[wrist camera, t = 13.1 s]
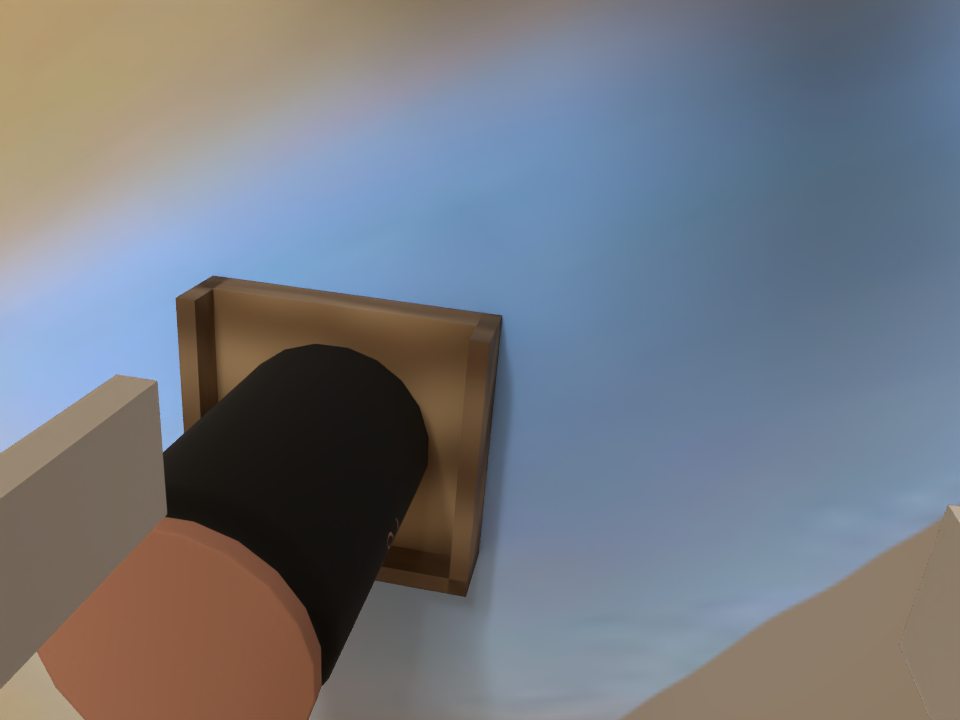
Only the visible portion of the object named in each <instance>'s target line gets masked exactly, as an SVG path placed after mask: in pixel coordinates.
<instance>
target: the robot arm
mask: <svg viewBox="0 0 960 720" xmlns="http://www.w3.org/2000/svg"><path fill="white" fill-rule="evenodd" d="M166 515H167V504H166V491H165V477H164V464H163V450H162V437H161V423H160V410H159V397H158V383H157V381H155V380H149V379H142V378H136V377H129V376H123V375H115V376H114V377H112V378H111V379H109V380H108V381H106V382H105V383H104V384H102V385H101V386H99V387H98V388H96V389H95V390H93V391H92V392H90V393H89V394H87V395H86V396H84V397H83V398H81V399H80V400H79V401H77V402H76V403H74V404H73V405H71V406H70V407H68V408H67V409H65V410H64V411H62V412H61V413H59V414H58V415H56V416H55V417H54V418H52V419H51V420H49V421H48V422H46V423H45V424H43V425H42V426H40V427H39V428H37V429H36V430H34V431H33V432H31V433H30V434H28V435H27V436H26V437H24V438H23V439H21V440H20V441H18V442H17V443H15V444H14V445H12V446H11V447H9V448H8V449H6V450H5V451H3V452H2V453H1V454H0V689H1V688H2V687H3V686H4V685H5V684H6V683H7V682H8V681H9V680H10V679H11V678H12V677H13V675H14V674H15V673H16V672H17V671H18V670H19V669H20V668H21V667H22V666H23V665H24V664H25V663H26V662H27V661H28V660H29V659H30V658H31V657H32V656H33V654H34V653H35V652H36V651H37V650H38V649H39V648H40V647H41V646H42V645H43V644H44V643H45V642H46V641H47V640H48V639H49V638H50V637H51V636H52V635H53V634H54V632H55V631H56V630H57V629H58V628H59V627H60V626H61V625H62V624H63V623H64V622H65V621H66V620H67V619H68V618H69V617H70V616H71V615H72V614H73V613H74V612H75V610H76V609H77V608H78V607H79V606H80V605H81V604H82V603H83V602H84V601H85V600H86V599H87V598H88V597H89V596H90V595H91V594H92V593H93V592H94V591H95V589H96V588H97V587H98V586H99V585H100V584H101V583H102V582H103V581H104V580H105V579H106V578H107V577H108V576H109V575H110V574H111V573H112V572H113V571H114V570H115V569H116V567H117V566H118V565H119V564H120V563H121V562H122V561H123V560H124V559H125V558H126V557H127V556H128V555H129V554H130V553H131V552H132V551H133V550H134V549H135V548H136V547H137V545H138V544H139V543H140V542H141V541H142V540H143V539H144V538H145V537H146V536H147V535H148V534H149V533H150V532H151V531H152V530H153V529H154V528H155V527H156V526H157V524H158V523H159V522H160V521H161V520H162V519H163V518H164V517H165V516H166ZM899 647H900V649H901V651H902V654H903V656H904V658H905V661H906V663H907V666H908V668H909V671H910V673H911V675H912V678H913V680H914V683H915V685H916V687H917V690H918V692H919V695H920V697H921V699H922V702H923V704H924V707H925V709H926V711H927V714H928V716H929V719H930V720H960V506H954V505H948V506H947V509H946V512H945V515H944V518H943V521H942V523H941V526H940V529H939V532H938V535H937V537H936V541H935V544H934V546H933V549H932V552H931V554H930V557H929V560H928V563H927V566H926V569H925V572H924V574H923V577H922V580H921V583H920V586H919V589H918V592H917V594H916V597H915V600H914V603H913V605H912V608H911V611H910V614H909V617H908V620H907V622H906V625H905V628H904V631H903V634H902V637H901V639H900V643H899Z"/></svg>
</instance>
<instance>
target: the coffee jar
mask: <svg viewBox="0 0 960 720" xmlns="http://www.w3.org/2000/svg"><path fill="white" fill-rule="evenodd" d="M428 444H429V437H428V433H427V430H426V427H425V423H424V420H423V417H422V413H421V410H420V407H419V405H418V404H417V402H416V401H415V399H414V398H413V396H412V395H411V393H410V392H409V390H408V389H407V387H406V386H405V384H404V383H403V382H402V380H401V379H399V378H398V377H397V376H396V375H395V374H393V373H392V372H391V371H390V370H388V369H387V368H386V367H385V366H384V365H382V364H381V363H380V362H379V361H378V360H375V359H373V358H371V357H369V356H366V355H364V354H362V353H359V352H357V351H355V350H353V349H350V348H347V347H339V346H331V345H323V344H310V345H305V346H300V347H295V348H290V349H285V350H283V351H281V352H280V353H278V354H276V355H275V356H273V357H271V358H270V359H268V360H266V361H265V362H263V363H261V364H260V365H259V366H258V367H257V368H255V369H254V370H253V371H252V372H251V373H250V374H249V375H248V376H247V377H246V378H244V379H243V380H242V381H241V382H240V383H239V384H238V385H237V386H236V387H235V388H234V389H232V390H231V391H230V392H229V393H228V394H227V395H226V396H225V397H224V398H223V399H221V400H220V401H219V402H218V403H217V404H216V405H215V406H214V407H213V408H212V409H210V410H209V411H208V412H207V413H206V414H205V415H204V416H203V417H202V418H201V419H199V420H198V421H197V422H196V423H195V424H194V425H193V426H192V427H191V428H190V429H188V430H187V431H186V432H185V433H184V434H183V435H182V436H181V437H180V438H179V439H177V440H176V441H175V442H174V443H173V444H172V445H171V446H170V447H169V448H168V449H167V450H165V451H164V452H163V464H164V477H165V491H166V504H167V515H166V516H165V517H164V518H163V519H162V520H161V521H160V522H159V523H158V524H157V526H156V527H155V528H154V529H153V530H152V531H151V532H150V533H149V534H148V535H147V536H146V537H145V538H144V539H143V540H142V541H141V542H140V543H139V544H138V545H137V547H136V548H135V549H134V550H133V551H132V552H131V553H130V554H129V555H128V556H127V557H126V558H125V559H124V560H123V561H122V562H121V563H120V564H119V565H118V566H117V567H116V569H115V570H114V571H113V572H112V573H111V574H110V575H109V576H108V577H107V578H106V579H105V580H104V581H103V582H102V583H101V584H100V585H99V586H98V587H97V588H96V589H95V591H94V592H93V593H92V594H91V595H90V596H89V597H88V598H87V599H86V600H85V601H84V602H83V603H82V604H81V605H80V606H79V607H78V608H77V609H76V610H75V612H74V613H73V614H72V615H71V616H70V617H69V618H68V619H67V620H66V621H65V622H64V623H63V624H62V625H61V626H60V627H59V628H58V629H57V630H56V631H55V632H54V634H53V635H52V636H51V637H50V638H49V639H48V640H47V641H46V642H45V643H44V644H43V645H42V646H41V647H40V648H39V649H38V650H37V653H38V655H39V657H40V658H41V660H42V662H43V664H44V666H45V668H46V670H47V672H48V674H49V676H50V677H51V679H52V681H53V683H54V685H55V687H56V688H57V689H58V690H59V692H60V693H61V694H62V695H63V696H64V697H65V698H66V699H67V700H68V702H69V703H70V704H71V705H72V706H73V707H74V708H75V709H76V711H77V712H78V713H79V714H80V715H81V716H82V717H83V718H84V719H85V720H308V719H309V717H310V714H311V712H312V709H313V707H314V705H315V702H316V700H317V697H318V694H319V691H320V689H321V686H322V685H323V684H324V683H325V682H326V681H327V680H328V679H329V677H330V675H331V673H332V670H333V668H334V666H335V664H336V662H337V660H338V658H339V656H340V653H341V651H342V649H343V647H344V645H345V643H346V641H347V639H348V636H349V634H350V632H351V630H352V628H353V626H354V624H355V621H356V619H357V617H358V615H359V613H360V611H361V609H362V607H363V604H364V602H365V600H366V598H367V596H368V594H369V592H370V590H371V587H372V585H373V583H374V581H375V579H376V577H377V575H378V573H379V570H380V568H381V566H382V564H383V562H384V560H385V558H386V556H387V553H388V551H389V549H390V547H391V545H392V543H393V541H394V538H395V536H396V534H397V532H398V530H399V528H400V526H401V524H402V521H403V519H404V517H405V515H406V513H407V511H408V509H409V507H410V504H411V502H412V500H413V498H414V496H415V494H416V492H417V489H418V487H419V485H420V482H421V480H422V478H423V475H424V473H425V471H426V468H427V466H428Z"/></svg>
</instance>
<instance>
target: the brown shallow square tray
mask: <svg viewBox="0 0 960 720" xmlns="http://www.w3.org/2000/svg"><path fill="white" fill-rule="evenodd" d="M176 311H177V327H178V343H179V359H180V375H181V391H182V407H183V423H184V433H185V432H186V431H187V430H188V429H190V428H191V427H192V426H193V425H194V424H195V423H196V422H197V421H198V420H199V419H201V418H202V417H203V416H204V415H205V414H206V413H207V412H208V411H209V410H210V409H212V408H213V407H214V406H215V405H216V404H217V403H218V402H219V401H220V400H221V399H223V398H224V397H225V396H226V395H227V394H228V393H229V392H230V391H231V390H232V389H234V388H235V387H236V386H237V385H238V384H239V383H240V382H241V381H242V380H243V379H244V378H246V377H247V376H248V375H249V374H250V373H251V372H252V371H253V370H254V369H255V368H257V367H258V366H259V365H260V364H261V363H263V362H265V361H266V360H268V359H270V358H271V357H273V356H275V355H276V354H278V353H280V352H281V351H283V350H285V349H290V348H295V347H300V346H305V345H310V344H323V345H331V346H339V347H347V348H350V349H353V350H355V351H357V352H359V353H362V354H364V355H366V356H369V357H371V358H373V359H375V360H378V361H379V362H380V363H381V364H382V365H384V366H385V367H386V368H387V369H388V370H390V371H391V372H392V373H393V374H395V375H396V376H397V377H398V378H399V379H401V380H402V382H403V383H404V384H405V386H406V387H407V389H408V390H409V392H410V393H411V395H412V396H413V398H414V399H415V401H416V402H417V404H418V405H419V407H420V410H421V413H422V417H423V420H424V423H425V427H426V430H427V433H428V437H429V444H428V466H427V468H426V471H425V473H424V475H423V478H422V480H421V482H420V485H419V487H418V489H417V492H416V494H415V496H414V498H413V500H412V502H411V504H410V507H409V509H408V511H407V513H406V515H405V517H404V519H403V521H402V524H401V526H400V528H399V530H398V532H397V534H396V536H395V538H394V541H393V543H392V545H391V547H390V549H389V551H388V553H387V556H386V558H385V560H384V562H383V564H382V566H381V568H380V570H379V573H378V575H377V577H376V579H375V580H376V581H381V582H387V583H392V584H398V585H403V586H409V587H414V588H420V589H425V590H431V591H436V592H442V593H447V594H453V595H458V596H464V597H466V594H467V591H468V588H469V584H470V581H471V578H472V574H473V571H474V568H475V564H476V561H477V558H478V554H479V544H480V534H481V524H482V514H483V504H484V494H485V483H486V473H487V463H488V453H489V443H490V433H491V423H492V413H493V403H494V392H495V382H496V372H497V362H498V352H499V342H500V332H501V322H502V316H501V315H494V314H487V313H479V312H472V311H465V310H458V309H450V308H443V307H436V306H429V305H421V304H414V303H407V302H400V301H392V300H385V299H378V298H371V297H363V296H356V295H349V294H342V293H334V292H327V291H320V290H313V289H305V288H298V287H291V286H284V285H276V284H269V283H262V282H255V281H247V280H240V279H233V278H226V277H218V276H212V277H210V278H208V279H207V280H205V281H203V282H202V283H200V284H198V285H197V286H195V287H193V288H192V289H190V290H188V291H187V292H185V293H183V294H182V295H180V296H178V297H177V298H176Z"/></svg>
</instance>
